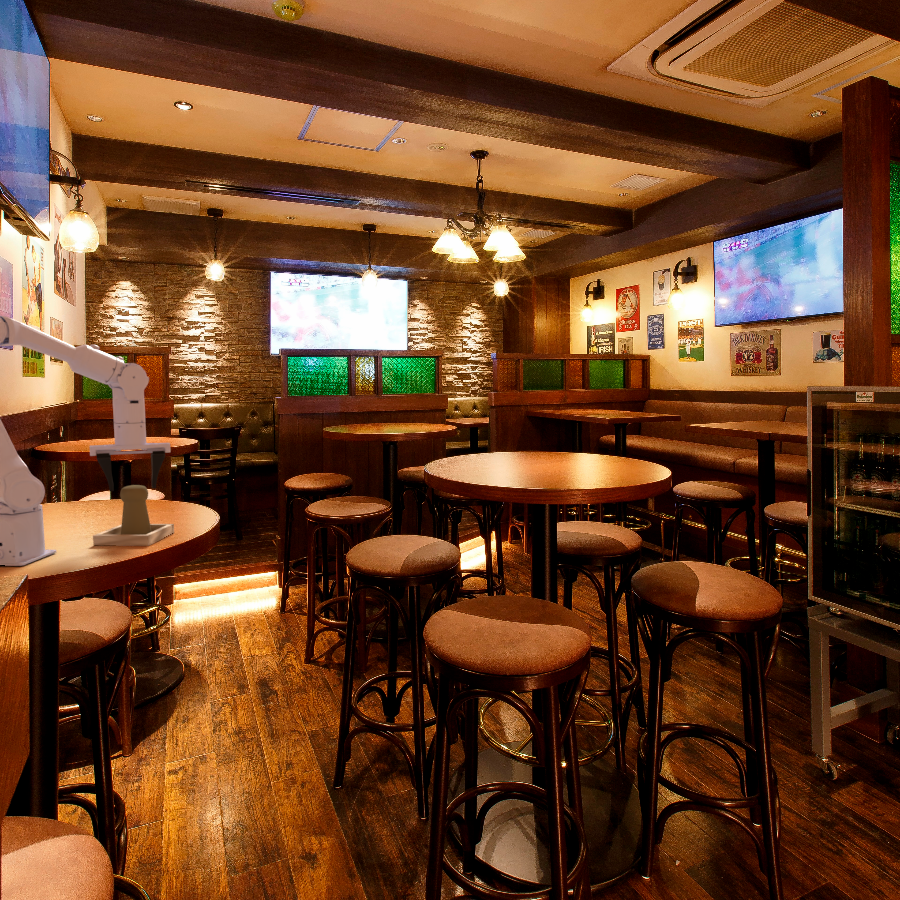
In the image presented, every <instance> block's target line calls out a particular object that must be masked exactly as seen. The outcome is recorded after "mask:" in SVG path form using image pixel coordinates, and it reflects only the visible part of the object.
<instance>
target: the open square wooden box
mask: <svg viewBox="0 0 900 900" xmlns="http://www.w3.org/2000/svg"><path fill="white" fill-rule="evenodd" d="M121 526H122V523H121V524H119V525H116V526H113V527H111V528H109V529H106V530H104V531H101V532H99V533H96V534H93V535H92V543H93V545H116V546H115V547H117V546H118V547H120V546H122V547H125V546H127V547H129V546H133V547H135V546H136V547H137V546H138V547H141V546H142V547H148V546H151V545H154V544H155V543H157V542H159V541H161V540H163V539H165V538H167V537H169V536H171V535H173V534H175V524H174V523H150V526H151V531H152V532H150V533H148V534H146V535H121ZM172 533H173V534H172ZM170 534H171V535H170ZM168 535H169V536H168ZM166 536H167V537H166ZM164 537H165V538H164Z"/></svg>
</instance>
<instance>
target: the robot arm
mask: <svg viewBox="0 0 900 900" xmlns="http://www.w3.org/2000/svg"><path fill="white" fill-rule="evenodd" d="M6 346H7V347H11V346H20V347H24V348H27V349H29V350H31V351H35V352H37V353H41V354H43V355H46V356H48V357H51V358H54V359H57V360H60V361H63V362H65V363H67V365H68V367H69V368H70V370H71V371H72V372H73V373H75V374H78V375H80V376H83V377H85V378H89V379H90V380H93V381H97V382H98V383H101V384H104V385H108V387H109V388H110V389H111V390H112V409H113V410H112V411H113V429H114V430H113V431H114V435H113V436H114V444H98V445H97V444H96V445H89V456H90V457H95V456H96V461H97V462H98V464H99V466H100V468H101V469H102V471H103V473H104V476H105V478H106V481H107V484H108V488H109V492H114V480H113V474H112V456H113V455H131V454H133V455H134V454H137V455H138V454H150V463H151V479H150V481H151V488H152V489H157V482H158V476H159V474H160V470H161V468H162V464H163V463H164V460H165V458H166V453H171V451H172V450H171V443H170V442H147V430H146V429H147V428H146V427H147V426H146V407H145V406H146V405H145V401H146V400H145V389H146V388H147V386H148V384H149V382H150V377H149V376H147V375H148V374H147V372H146V370H145V369H143V367H142V366H141V365H140V364H137V363H134V362H128V363H125V361H124V359H125V358H124V357H122V356H120V355H119V356H118V355H117V356H114V355H112V354H109V353H106V352H105V351H102V350H100V346H98V345H96V344H90V345H88V344H82V345H78V346H76V347H75V346H74V345H72V344H69V343H67V342H65V341H62V340H60V339H58V338H56V337H54V336H52V335H50V334H47V333H45V332H43V331H41V330H39V329H36V328H34V327H31V326H30V325H27V324H25V323H23V322H21V321H18V320H17V319H14V318H11V317H9V316H4V315H0V347H6ZM122 450H123V451H122ZM124 450H125V451H124ZM111 455H112V456H111ZM45 489H46V488H45V486H44V484H43V482H42V481H41V480H40V479H38V478H37V477H36V476H34V475H33V474H32V473H31V471H30V469H29V467H28V466H27V464H26V463H25V462H24V461H23V460H22V458H21V457H20V455H19V454H18V452H17V450H16V448H15V445H14V444H13V442H12V440H11V438H10V435H9V434H8V432H7V430H6V428H5V426H4V423H3V422H2V420H1V418H0V565H5V567H6V566H7V567H11V566H14V567H21V566H25V565H28V564H31V563H33V562H35V561H37V560H38V561H39V560H40V559H43V558H45V557H48V556H51V555H53V554H55V553H57V549H46V543H45V542H46V541H45V527H44V526H45V525H44V524H45V523H44V511H43V509H44V508H43V504H41V503H43V500H44V498H45V495H46V490H45Z"/></svg>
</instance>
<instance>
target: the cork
mask: <svg viewBox="0 0 900 900" xmlns="http://www.w3.org/2000/svg"><path fill="white" fill-rule="evenodd" d="M119 496H120V500H121V502H123V506H122V515H121V516H122V517H121V524H122V526H121V535H146V534H148V533H150V532H152V531H151V526H150V524H151V521H150V517H149V511H148V505H147V502H146V501H147V500H148V498H149V490H148V488H147V487H146V486H145V485H142V484H141V485H140V484H131V485H126V486H123V487H122V488H121V490H120V493H119Z"/></svg>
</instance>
